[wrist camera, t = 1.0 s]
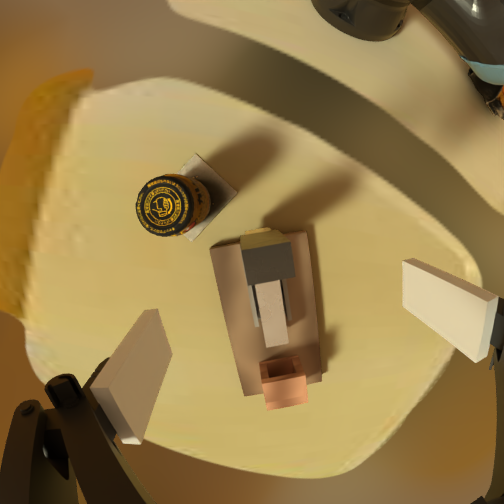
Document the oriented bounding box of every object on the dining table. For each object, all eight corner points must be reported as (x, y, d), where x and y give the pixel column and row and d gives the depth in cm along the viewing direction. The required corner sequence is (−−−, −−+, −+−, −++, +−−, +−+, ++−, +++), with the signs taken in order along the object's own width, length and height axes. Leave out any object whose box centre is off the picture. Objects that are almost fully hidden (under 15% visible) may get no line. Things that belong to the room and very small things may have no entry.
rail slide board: (303, 230, 36) (318, 238, 29) (319, 375, 41) (330, 401, 34) (210, 247, 36) (205, 258, 29) (244, 390, 41) (245, 418, 34)
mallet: (273, 226, 33) (290, 241, 23) (289, 332, 36) (307, 380, 26) (239, 232, 33) (241, 250, 23) (259, 337, 36) (267, 388, 25)
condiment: (151, 203, 34) (112, 209, 23) (195, 153, 33) (174, 134, 22) (191, 242, 36) (170, 265, 24) (237, 192, 35) (237, 192, 23)
